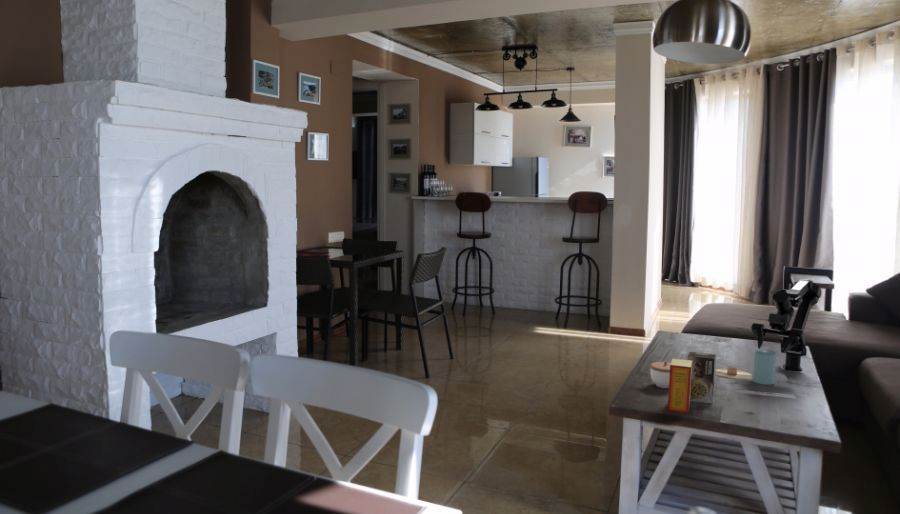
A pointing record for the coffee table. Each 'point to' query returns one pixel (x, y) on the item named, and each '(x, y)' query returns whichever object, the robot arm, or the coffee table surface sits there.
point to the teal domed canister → (764, 366)
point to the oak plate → (740, 375)
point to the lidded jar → (660, 373)
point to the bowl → (732, 370)
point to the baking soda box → (680, 385)
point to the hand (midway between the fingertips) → (771, 350)
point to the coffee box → (702, 377)
